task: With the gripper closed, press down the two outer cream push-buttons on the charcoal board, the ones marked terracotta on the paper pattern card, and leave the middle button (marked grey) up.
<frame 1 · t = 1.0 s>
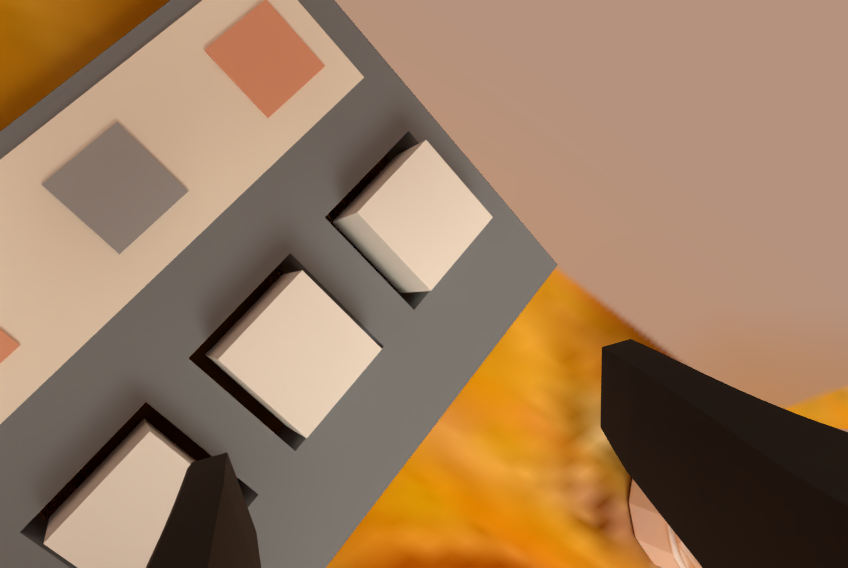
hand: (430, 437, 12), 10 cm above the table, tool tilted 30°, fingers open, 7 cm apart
button board: (225, 304, 20), on the table
white cup: (680, 491, 29), on the table
middle button: (293, 351, 19), point 3 cm above the table, slide at 0.0 cm
button 1: (412, 219, 20), point 3 cm above the table, slide at 0.0 cm
button 2: (148, 513, 17), point 3 cm above the table, slide at 0.0 cm
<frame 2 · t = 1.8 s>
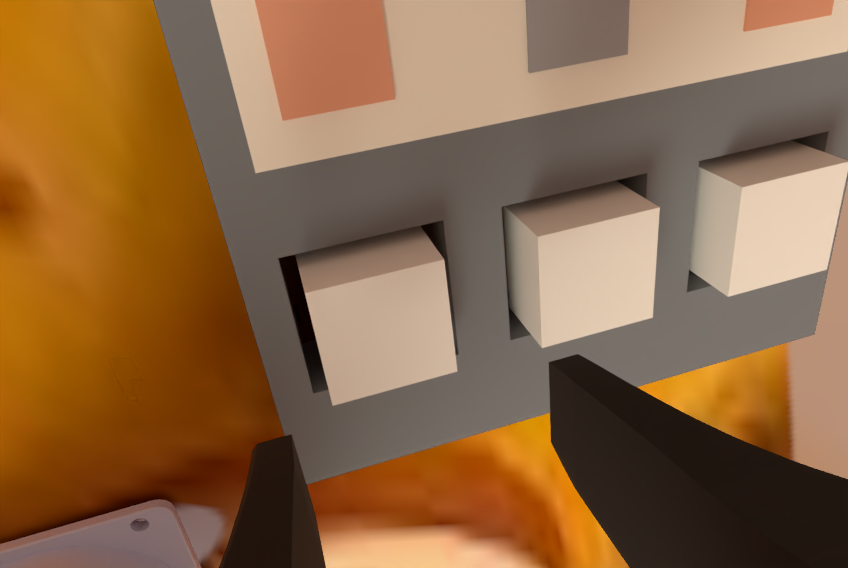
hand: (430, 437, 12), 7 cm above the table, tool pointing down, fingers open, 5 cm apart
button board: (534, 160, 19), on the table
middle button: (578, 261, 17), point 3 cm above the table, slide at 0.0 cm
button 1: (757, 215, 18), point 3 cm above the table, slide at 0.0 cm
button 2: (376, 312, 16), point 3 cm above the table, slide at 0.0 cm
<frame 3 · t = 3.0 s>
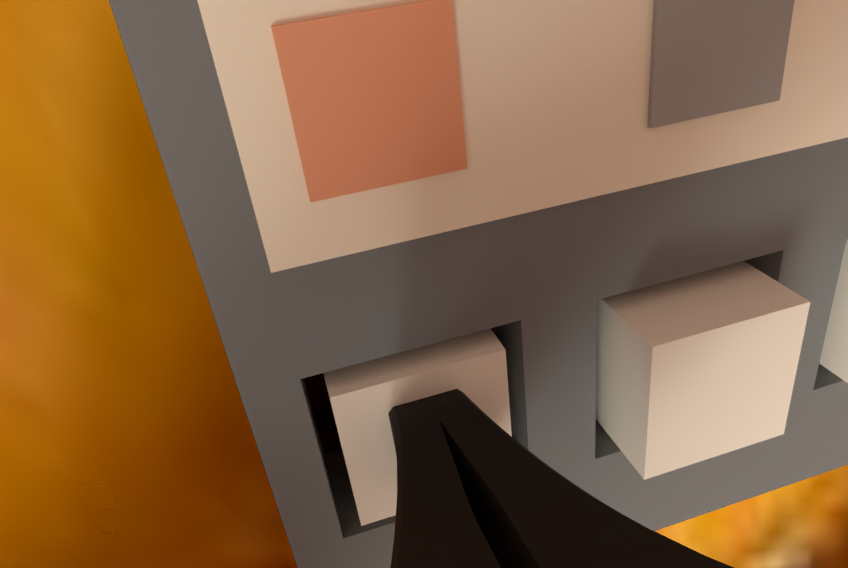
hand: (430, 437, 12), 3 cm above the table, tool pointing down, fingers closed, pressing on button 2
button board: (622, 224, 14), on the table
middle button: (687, 362, 13), point 3 cm above the table, slide at 0.0 cm
button 2: (414, 405, 13), point 2 cm above the table, slide at 1.0 cm, touching gripper
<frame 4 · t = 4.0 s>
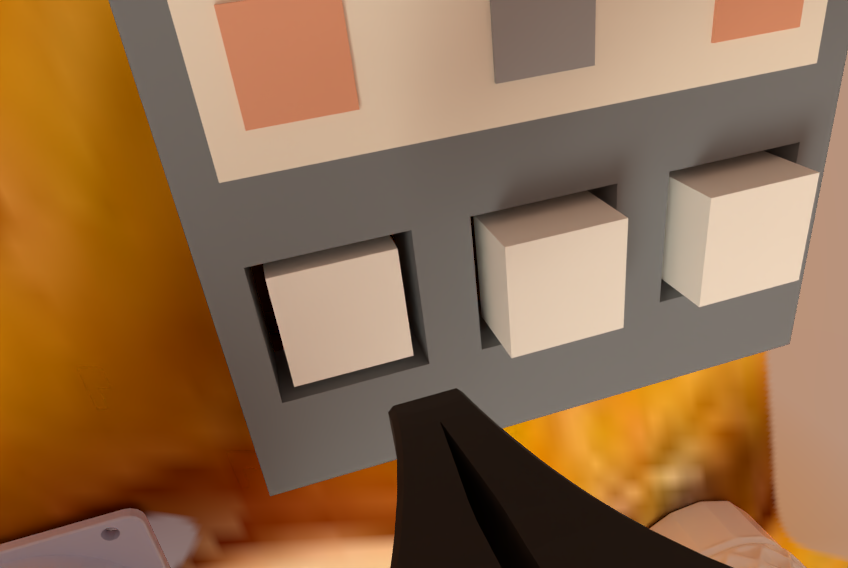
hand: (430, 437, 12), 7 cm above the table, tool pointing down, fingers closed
button board: (507, 169, 18), on the table
white cup: (680, 550, 30), on the table
middle button: (548, 271, 17), point 3 cm above the table, slide at 0.0 cm
button 1: (729, 226, 18), point 3 cm above the table, slide at 0.0 cm
button 2: (337, 299, 17), point 1 cm above the table, slide at 1.2 cm
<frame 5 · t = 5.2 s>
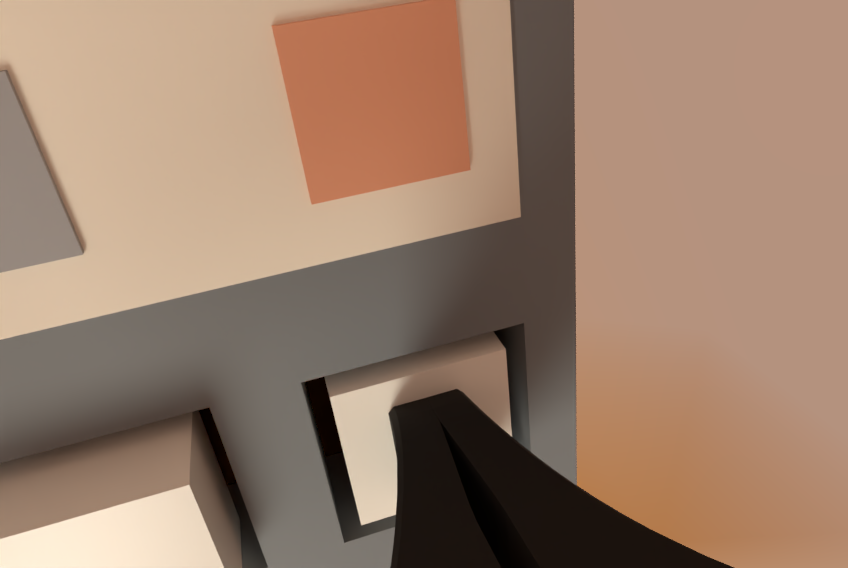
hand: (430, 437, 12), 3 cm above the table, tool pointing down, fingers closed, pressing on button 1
button board: (102, 355, 12), on the table
middle button: (123, 532, 11), point 3 cm above the table, slide at 0.0 cm
button 1: (415, 404, 13), point 1 cm above the table, slide at 1.1 cm, touching gripper
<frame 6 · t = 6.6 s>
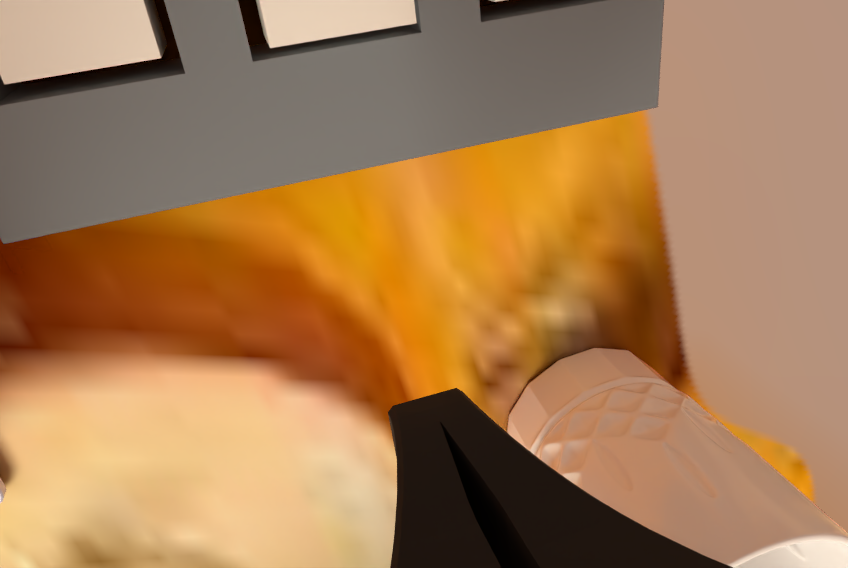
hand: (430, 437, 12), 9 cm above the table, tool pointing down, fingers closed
white cup: (578, 412, 27), on the table
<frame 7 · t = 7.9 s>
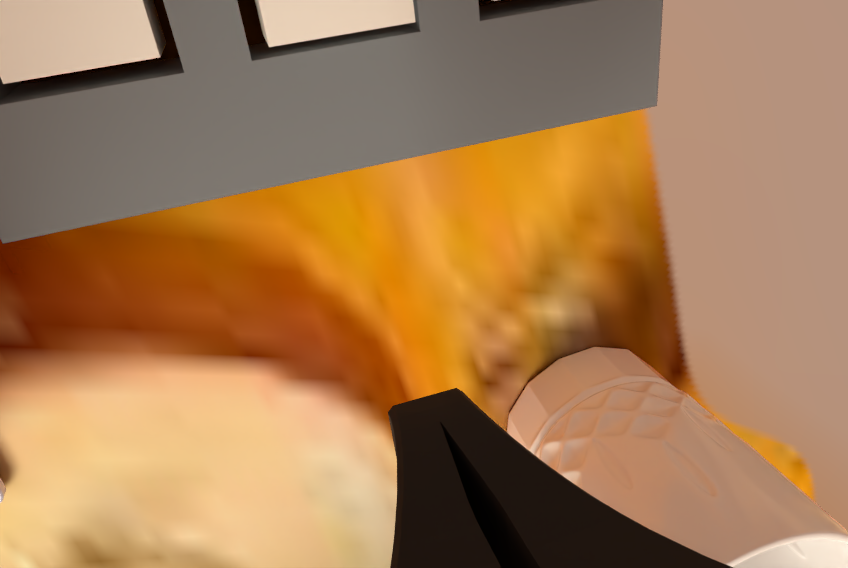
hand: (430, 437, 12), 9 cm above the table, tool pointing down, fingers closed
white cup: (578, 411, 27), on the table
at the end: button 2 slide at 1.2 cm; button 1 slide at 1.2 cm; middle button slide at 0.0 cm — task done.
